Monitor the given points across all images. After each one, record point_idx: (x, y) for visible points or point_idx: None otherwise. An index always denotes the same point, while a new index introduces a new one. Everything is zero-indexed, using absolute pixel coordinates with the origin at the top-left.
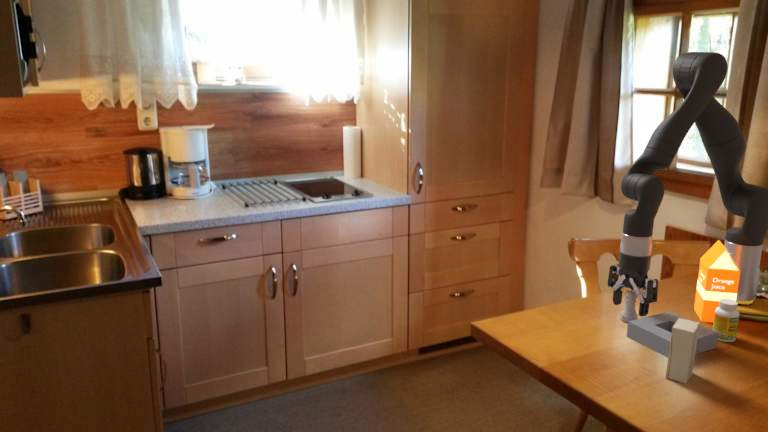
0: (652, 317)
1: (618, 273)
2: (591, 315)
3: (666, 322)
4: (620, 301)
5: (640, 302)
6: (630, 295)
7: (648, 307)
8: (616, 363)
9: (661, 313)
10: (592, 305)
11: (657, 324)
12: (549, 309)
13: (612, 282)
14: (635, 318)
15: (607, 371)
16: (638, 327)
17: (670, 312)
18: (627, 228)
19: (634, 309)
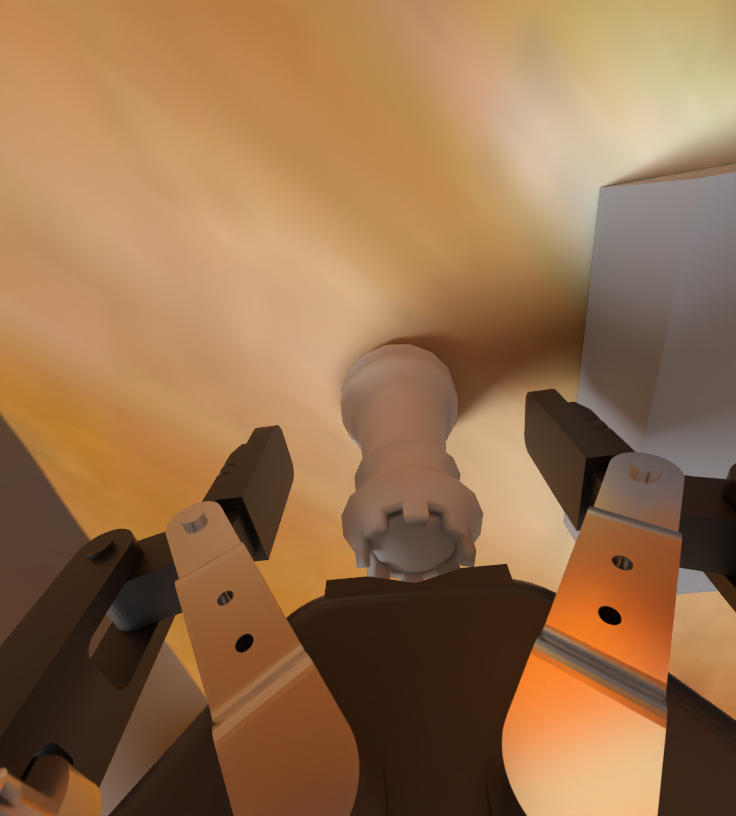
0: (676, 438)
1: (77, 779)
2: (280, 527)
3: None
4: (277, 443)
5: (579, 525)
6: (449, 567)
7: (618, 440)
8: (702, 657)
9: (677, 302)
10: (139, 454)
11: None
12: (184, 628)
13: (138, 620)
14: (457, 400)
15: (714, 694)
16: (695, 586)
17: (733, 176)
18: None
19: (443, 428)
